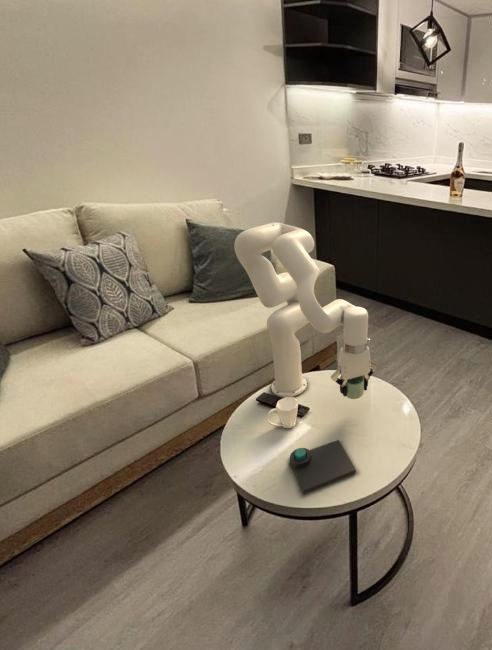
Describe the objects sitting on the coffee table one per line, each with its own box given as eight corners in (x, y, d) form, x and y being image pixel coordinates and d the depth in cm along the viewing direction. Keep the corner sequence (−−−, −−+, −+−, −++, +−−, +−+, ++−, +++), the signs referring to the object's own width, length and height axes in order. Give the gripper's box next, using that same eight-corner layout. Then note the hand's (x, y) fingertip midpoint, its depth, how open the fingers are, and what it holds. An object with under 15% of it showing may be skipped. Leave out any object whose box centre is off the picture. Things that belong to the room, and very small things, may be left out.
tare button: (293, 454, 116) (293, 450, 116) (304, 451, 118) (303, 447, 117) (297, 462, 114) (296, 457, 114) (307, 458, 116) (307, 454, 115)
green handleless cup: (340, 390, 137) (341, 375, 134) (358, 385, 140) (359, 370, 137) (348, 402, 131) (348, 387, 129) (367, 396, 135) (367, 381, 132)
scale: (288, 460, 118) (287, 452, 117) (338, 442, 125) (337, 434, 124) (302, 495, 107) (301, 486, 106) (355, 473, 115) (355, 465, 113)
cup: (302, 427, 130) (300, 407, 127) (270, 436, 126) (267, 415, 123) (297, 414, 136) (296, 394, 133) (266, 422, 132) (264, 401, 129)
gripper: (374, 334, 135) (372, 378, 142) (324, 345, 127) (325, 391, 134) (385, 345, 129) (382, 390, 136) (333, 357, 121) (333, 405, 128)
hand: (353, 390), depth 135 cm, fingers closed on green handleless cup, 6 cm apart
